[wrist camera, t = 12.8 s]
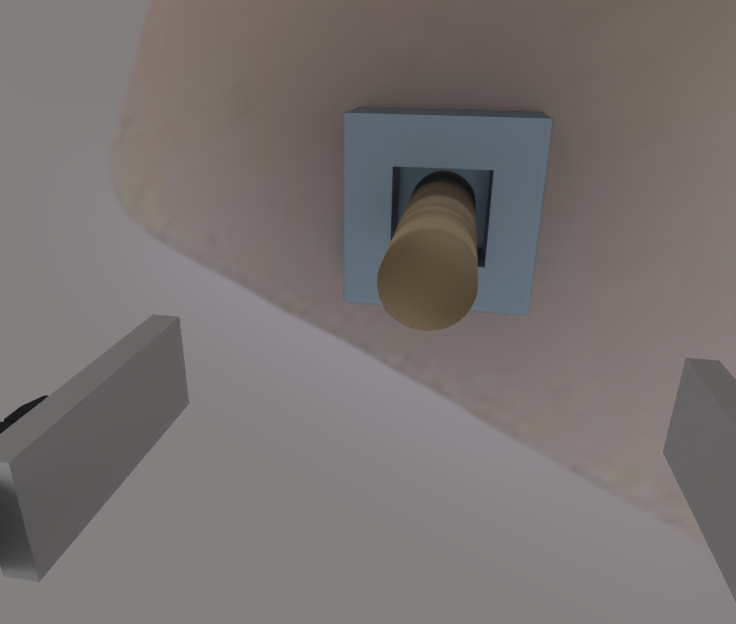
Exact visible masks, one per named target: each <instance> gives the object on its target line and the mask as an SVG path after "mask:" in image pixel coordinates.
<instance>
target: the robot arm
mask: <svg viewBox="0 0 736 624" xmlns="http://www.w3.org/2000/svg"><path fill="white" fill-rule="evenodd" d="M188 404H189V398H188V389H187V381H186V372H185V364H184V355H183V346H182V338H181V329H180V320H179V317H175V316H163V315H152V316H151V317H150V318H148V319H147V320H146V321H145V322H143V323H142V324H141V325H139V326H138V327H137V328H135V329H134V330H133V331H132V332H130V333H129V334H128V335H126V336H125V337H124V338H123V339H121V340H120V341H119V342H118V343H116V344H115V345H114V346H112V347H111V348H110V349H109V350H107V351H106V352H105V353H103V354H102V355H101V356H100V357H98V358H97V359H96V360H94V361H93V362H92V363H91V364H89V365H88V366H87V367H86V368H84V369H83V370H82V371H80V372H79V373H78V374H77V375H75V376H74V377H73V378H71V379H70V380H69V381H68V382H66V383H65V384H64V385H62V386H61V387H60V388H59V389H57V390H56V391H55V392H53V393H52V394H51V395H50V396H42V397H40V398H38V399H36V400H34V401H32V402H29V403H27V404H25V405H23V406H21V407H19V408H18V409H17V410H16V411H14V412H13V413H12V414H10V415H9V416H8V417H6V418H5V419H4V422H0V566H1V569H2V573H3V576H5V577H12V578H18V579H25V580H32V581H38V582H40V580H41V579H42V578H43V577H44V576H45V574H46V573H47V572H48V571H49V570H50V569H51V567H52V566H53V565H54V564H55V563H56V561H57V560H58V559H59V558H60V557H61V555H62V554H63V553H64V552H65V551H66V549H67V548H68V547H69V546H70V545H71V544H72V542H73V541H74V540H75V539H76V538H77V536H78V535H79V534H80V533H81V532H82V530H83V529H84V528H85V527H86V526H87V524H88V523H89V522H90V521H91V520H92V518H93V517H94V516H95V515H96V514H97V513H98V511H99V510H100V509H101V508H102V506H103V505H104V504H105V503H106V502H107V501H108V499H109V498H110V497H111V496H112V495H113V493H114V492H115V491H116V490H117V489H118V487H119V486H120V485H121V484H122V483H123V481H124V480H125V479H126V478H127V477H128V476H129V474H130V473H131V472H132V471H133V470H134V468H135V467H136V466H137V465H138V464H139V463H140V461H141V460H142V459H143V458H144V456H145V455H146V454H147V453H148V452H149V451H150V449H151V448H152V447H153V446H154V445H155V443H156V442H157V441H158V440H159V439H160V438H161V436H162V435H163V434H164V433H165V432H166V430H167V429H168V428H169V427H170V426H171V424H172V423H173V422H174V421H175V420H176V418H177V417H178V416H179V415H180V414H181V413H182V411H183V410H184V409H185V408H186V407H187V405H188ZM663 453H664V455H665V457H666V459H667V462H668V464H669V466H670V468H671V470H672V472H673V474H674V476H675V478H676V480H677V482H678V484H679V486H680V488H681V490H682V492H683V494H684V496H685V498H686V500H687V503H688V505H689V507H690V509H691V511H692V513H693V515H694V517H695V519H696V521H697V523H698V525H699V527H700V529H701V531H702V533H703V535H704V537H705V539H706V542H707V544H708V546H709V548H710V550H711V552H712V554H713V556H714V558H715V560H716V562H717V564H718V566H719V568H720V570H721V572H722V574H723V576H724V578H725V580H726V583H727V584H728V587H729V589H730V590H731V593H732V595H733V597H734V599H735V601H736V380H735V379H734V377H733V376H732V375H731V374H730V373H729V371H728V370H727V369H726V368H725V367H724V365H723V364H722V363H721V362H720V361H717V360H705V359H693V358H686V360H685V364H684V368H683V372H682V376H681V380H680V384H679V388H678V393H677V397H676V401H675V405H674V409H673V413H672V417H671V421H670V425H669V429H668V434H667V438H666V442H665V446H664V450H663Z"/></svg>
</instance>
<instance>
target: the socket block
mask: <svg viewBox="0 0 736 624" xmlns="http://www.w3.org/2000/svg"><path fill="white" fill-rule="evenodd" d="M552 123H553V118H551V117H549V116H548V115H546V114H544V113H543V112H516V111H478V110H440V109H402V108H364V107H359V108H356V109H353V110H350V111H348V112H345V113H344V302H350V303H364V304H378V305H383V304H382V302H381V300H380V297H379V294H378V289H377V275H378V271H379V268H380V265H381V263H382V260H383V258H384V256H385V254H386V251H387V249H388V247H389V245H390V242H391V240H392V238H393V236H394V233H395V231H396V229H397V227H398V224H399V222H400V220H401V218H402V215H403V213H404V211H405V209H406V206H407V204H408V202H409V200H410V197H411V195H412V193H413V191H414V189H415V187H416V185H417V184H418V183H419V182H420V180H421V179H423V178H424V177H425V176H427V175H429V174H431V173H434V172H437V171H450V172H454V173H456V174H458V175H460V176H462V177H463V178H465V179H466V180H467V181H468V183H469V184H470V185H471V187H472V189H473V191H474V195H475V203H476V234H477V265H478V291H477V296H476V299H475V301H474V304H473V306H472V307H471V309H470V310H469V311H477V312H491V313H505V314H519V315H528V313H529V305H530V297H531V289H532V281H533V273H534V265H535V257H536V250H537V242H538V234H539V226H540V218H541V210H542V202H543V194H544V186H545V178H546V170H547V162H548V155H549V147H550V139H551V131H552Z"/></svg>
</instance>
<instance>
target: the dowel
mask: <svg viewBox="0 0 736 624" xmlns="http://www.w3.org/2000/svg"><path fill="white" fill-rule="evenodd" d="M377 289H378V294H379V297H380V300H381V302H382V304H383V306H384V307H385V309H386V310H387V311H388V313H389V314H390V315H391V316H392V317H393V318H395V319H396V320H397V321H399V322H400V323H402V324H404V325H406V326H408V327H410V328H414V329H417V330H425V331H432V330H439V329H443V328H446V327H449V326H451V325H453V324H455V323H456V322H458V321H459V320H461V319H462V318H463V317H464V316H465V315H466V314H467V313H468V312H469V310H470V309H471V307H472V306H473V304H474V301H475V299H476V296H477V291H478V265H477V234H476V203H475V195H474V191H473V189H472V187H471V185H470V184H469V183H468V181H467V180H466V179H465V178H463V177H462V176H460V175H458V174H456V173H454V172H450V171H437V172H434V173H431V174H429V175H427V176H425V177H424V178H423V179H421V180H420V182H419V183H418V184H417V185H416V187H415V189H414V191H413V193H412V195H411V197H410V200H409V202H408V204H407V206H406V209H405V211H404V213H403V215H402V218H401V220H400V222H399V224H398V227H397V229H396V231H395V233H394V236H393V238H392V240H391V242H390V245H389V247H388V249H387V251H386V254H385V256H384V258H383V260H382V263H381V265H380V268H379V271H378V275H377Z"/></svg>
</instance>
